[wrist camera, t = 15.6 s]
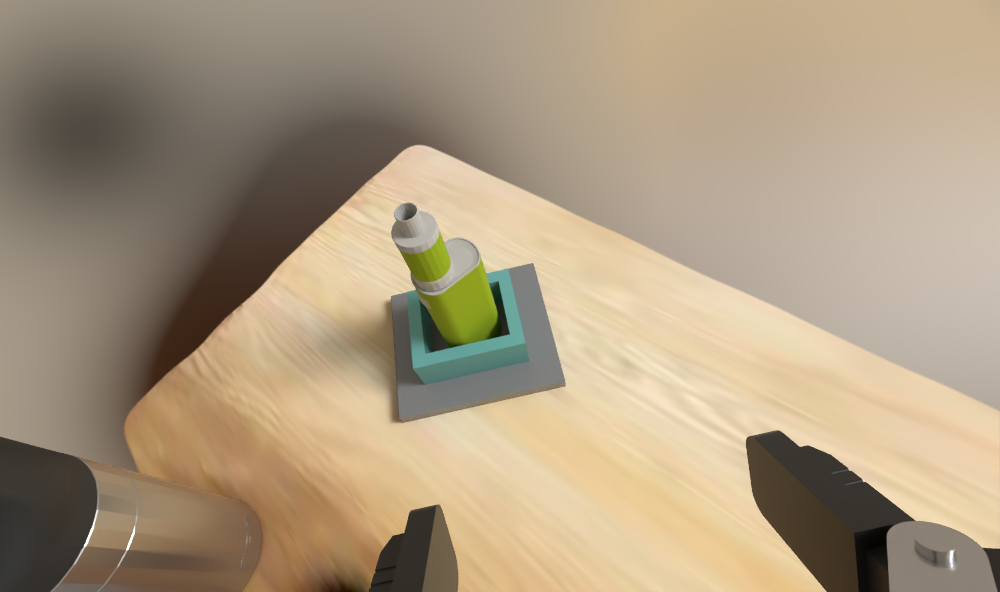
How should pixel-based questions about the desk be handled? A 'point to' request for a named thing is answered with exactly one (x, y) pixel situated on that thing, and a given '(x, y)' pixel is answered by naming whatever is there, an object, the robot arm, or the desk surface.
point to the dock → (475, 352)
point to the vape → (447, 278)
